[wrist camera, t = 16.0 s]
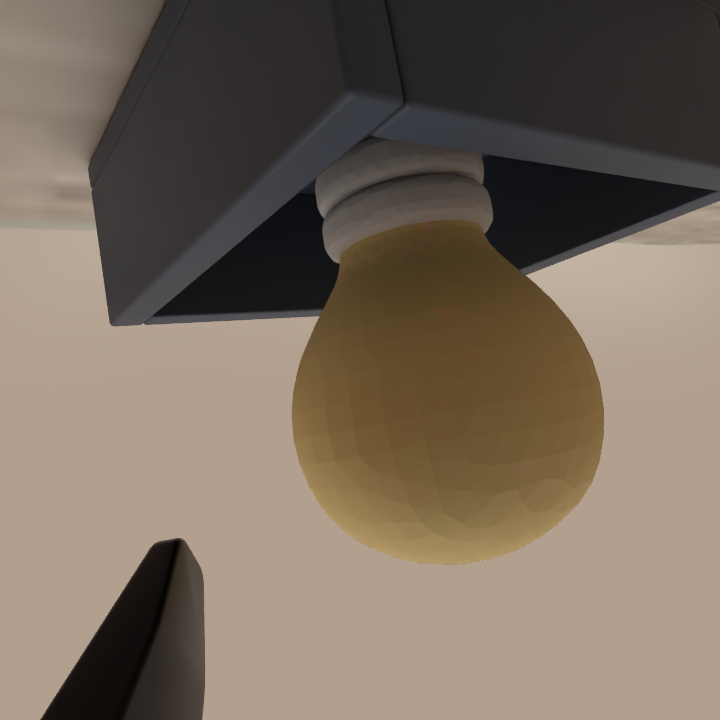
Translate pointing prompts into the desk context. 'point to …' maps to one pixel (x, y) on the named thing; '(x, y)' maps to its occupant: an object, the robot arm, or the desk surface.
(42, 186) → the desk surface
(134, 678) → the robot arm
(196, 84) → the bin
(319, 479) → the light bulb
